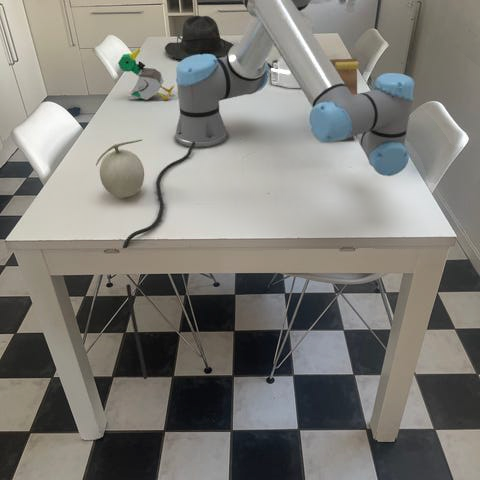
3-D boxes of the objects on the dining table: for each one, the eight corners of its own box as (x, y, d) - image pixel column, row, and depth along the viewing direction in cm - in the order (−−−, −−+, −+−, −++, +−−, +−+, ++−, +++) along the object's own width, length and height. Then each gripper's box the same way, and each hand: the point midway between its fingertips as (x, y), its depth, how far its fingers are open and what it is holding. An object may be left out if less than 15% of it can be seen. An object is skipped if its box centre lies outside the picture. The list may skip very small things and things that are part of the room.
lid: (323, 60, 145) (330, 52, 136) (355, 59, 145) (364, 51, 136) (324, 109, 147) (331, 105, 138) (356, 108, 147) (365, 104, 138)
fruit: (93, 194, 129) (82, 138, 120) (134, 179, 134) (126, 125, 126) (112, 211, 122) (101, 153, 113) (154, 195, 128) (147, 139, 119)
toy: (179, 80, 179) (129, 44, 172) (154, 118, 185) (104, 85, 178) (180, 75, 184) (131, 40, 177) (155, 113, 190) (107, 81, 184)
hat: (239, 41, 247) (238, 8, 239) (231, 62, 218) (230, 27, 210) (174, 40, 250) (171, 9, 242) (157, 62, 221) (153, 26, 213)
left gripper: (430, 114, 115) (401, 82, 132) (319, 117, 114) (304, 85, 131) (423, 144, 119) (396, 110, 137) (316, 148, 119) (303, 113, 136)
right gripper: (374, -48, 120) (367, 15, 128) (354, -57, 137) (349, 0, 145) (347, -47, 120) (342, 16, 128) (330, -56, 137) (326, 0, 144)
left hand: (351, 97), depth 134 cm, fingers open, 13 cm apart
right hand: (345, 7), depth 136 cm, fingers open, 8 cm apart
